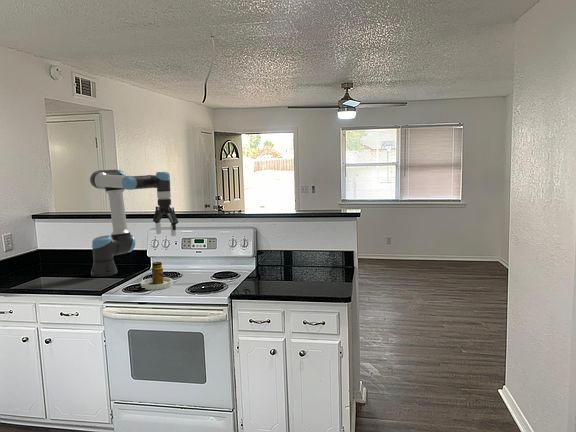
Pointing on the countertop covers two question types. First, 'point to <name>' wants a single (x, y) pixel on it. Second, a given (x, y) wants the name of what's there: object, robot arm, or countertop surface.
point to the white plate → (167, 283)
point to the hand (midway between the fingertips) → (166, 234)
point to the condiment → (157, 274)
